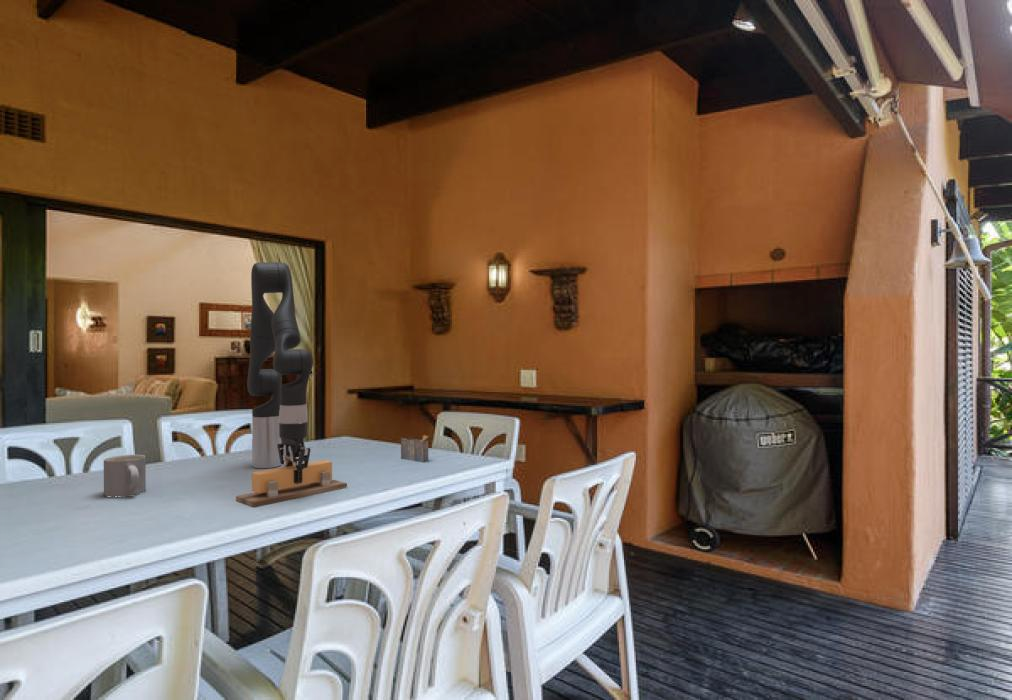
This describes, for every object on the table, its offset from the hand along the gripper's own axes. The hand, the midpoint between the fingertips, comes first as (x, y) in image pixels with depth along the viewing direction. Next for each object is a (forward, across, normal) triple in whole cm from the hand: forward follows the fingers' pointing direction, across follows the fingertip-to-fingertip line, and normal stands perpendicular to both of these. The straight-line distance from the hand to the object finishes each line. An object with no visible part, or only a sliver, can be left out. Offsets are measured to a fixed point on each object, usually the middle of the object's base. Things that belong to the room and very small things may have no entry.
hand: (293, 481), depth 169 cm
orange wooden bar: (+1, 0, 0) cm, 1 cm away
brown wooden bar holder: (+3, 0, 0) cm, 3 cm away
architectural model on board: (+4, -12, +54) cm, 55 cm away
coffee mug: (+4, -35, -31) cm, 47 cm away
